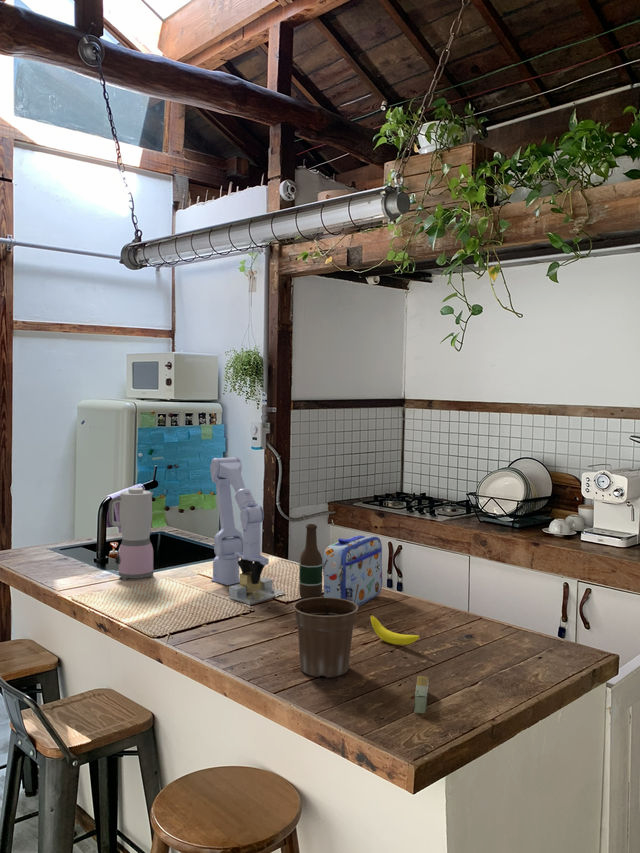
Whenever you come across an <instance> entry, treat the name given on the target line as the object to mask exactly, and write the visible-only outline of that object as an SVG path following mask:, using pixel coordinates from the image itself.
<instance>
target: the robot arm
mask: <svg viewBox="0 0 640 853" xmlns="http://www.w3.org/2000/svg"><path fill="white" fill-rule="evenodd" d="M242 466H243V465H242V460H241V458H240V457H239V456H235V457H233V456H232V457H214V458H212V460H211V462H210V465H209V469H210V470H209V471H210V477H211V482H212V483H215V489H216V495H217V496H216V498H217V505H218V514H219V525H220V530H219V531H218V532H217V533H216V534H215V535H214V536H213V537H214V538H213V540H214V541H213V542H214V543H213V550H214V554H215V557H214V559H213V562H212V578H210V581H212V582H215V583H219V584H222V585H226V586H233V585H237V584H240V570H241V573H245V572H249V571H251V573H252V583H253V584H257V583H258V582H259V579H261V574H262V572H263V569H264V568H265V567H266V566H267V565H270V564H269V562H270V561H269V560H270V559H269V558H268V557H265V556H263V555H262V554H261V523H263V521H264V518H265V512H264V508H263V507H262V506H261V505H259V503H257V502H256V501H255V498H254V496H253V494H252V492H251V490H250V489H248V488H246V485H245V482H244V480H243V476H242V468H243V467H242ZM231 486H232V488H233V490H234V493H235V494H234V500H235V501H236V504H237V505H238V508H239V511H240V514H239V518H240V522H241V529H242V531H243V532H241V531H240V530H238V529H237V528H236V526H235V517H234V510H233V500H232V499H233V498H232V492H231Z"/></svg>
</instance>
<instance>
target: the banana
mask: <svg viewBox="0 0 640 853" xmlns="http://www.w3.org/2000/svg"><path fill="white" fill-rule="evenodd" d="M368 614H369V616H370V622H371V626H372V629H373V630H374V632H375V634H376V635H377V636H378V638H379V639H381V641H384V642H385V643H387V644H392V645H398V646H406V645H407V646H408V645H411V644H413V643H414V642H416V641H418V640H419V639H420V637H421V636H420V635H417V634H401V633H398V632H394V631H391V630H389V629H387V628H386V627H385V626H383V625H382V624H381V622H380V620H378V619H377V617H375V616H373V613H368Z"/></svg>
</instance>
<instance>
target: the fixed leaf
mask: <svg viewBox="0 0 640 853" xmlns="http://www.w3.org/2000/svg"><path fill="white" fill-rule="evenodd" d="M273 581H274V580H273V579H271V578H267V577H262V578H261V577H260V587H261V590H258V591H254V592H251V593H246V587H245V586H242V585H239V584H240V583H237V584H238V585H237V584H233V585H234V586H233V585H229V586H228V587H229V589H228V599H231V600H234V601H236V600H237V601H236V602H239V601H240V602H239V603H242V602H243V604H246V605H249V606H251V605H254V604H257V603H260V602H264V601H267V600H270V599H274V598H273V597H274V596H276V595H279V594H283V593H285V594H286V592H285V591H282V590H279V589H275V588H274V587H273V583H274V582H273Z"/></svg>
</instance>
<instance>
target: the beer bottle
mask: <svg viewBox="0 0 640 853" xmlns="http://www.w3.org/2000/svg"><path fill="white" fill-rule="evenodd" d="M305 528H306V533H305V534H306V535H305V546H304V549H303V550H302V552H301V554H300V556H299V576H298V577H299V581H298V582H299V584H298V586H299V588H298V591H299V596H300V597H301V598H302V597H304V598H303V599H307V598H315V597H323V557H322V555H321V553H320V551H319V549H318V543H317V529H318V526H317V524H316V523H309V524H306V526H305Z"/></svg>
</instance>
